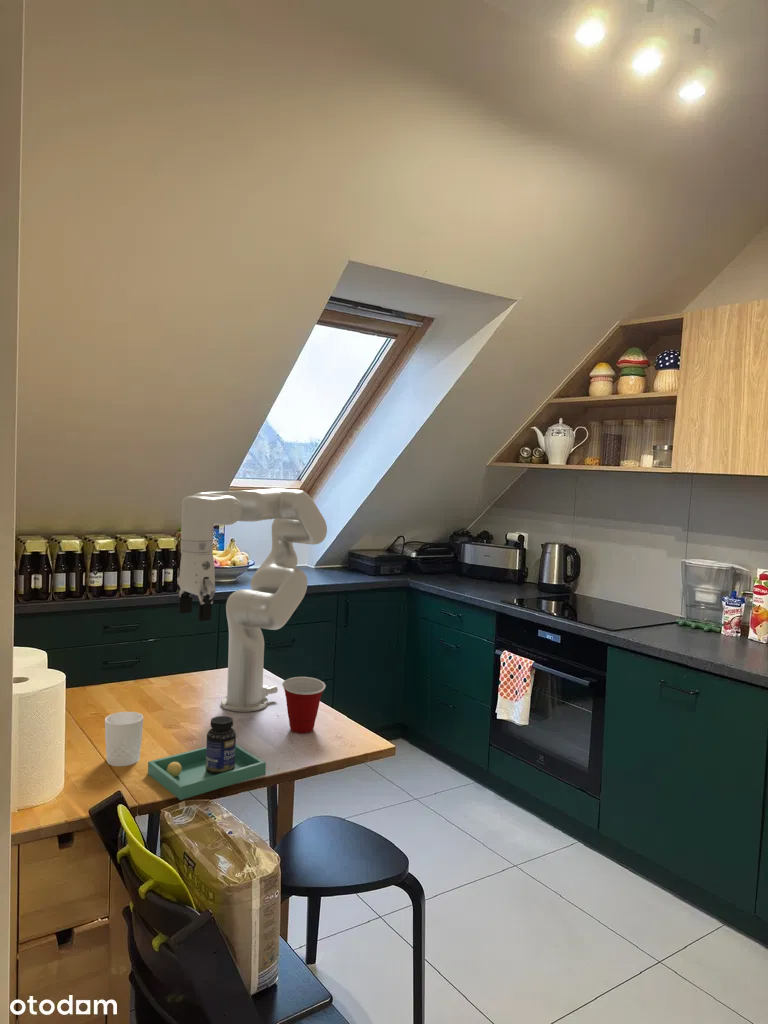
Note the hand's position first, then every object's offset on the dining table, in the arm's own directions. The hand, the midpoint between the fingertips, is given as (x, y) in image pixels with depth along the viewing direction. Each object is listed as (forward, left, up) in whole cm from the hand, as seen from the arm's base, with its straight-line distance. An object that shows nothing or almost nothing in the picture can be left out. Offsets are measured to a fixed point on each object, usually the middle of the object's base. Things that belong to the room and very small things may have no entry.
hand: (194, 616), depth 178 cm
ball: (+16, +23, -28) cm, 39 cm away
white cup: (+21, +9, -28) cm, 37 cm away
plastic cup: (-22, +16, -28) cm, 39 cm away
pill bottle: (+7, +26, -28) cm, 39 cm away
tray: (+10, +26, -28) cm, 40 cm away
